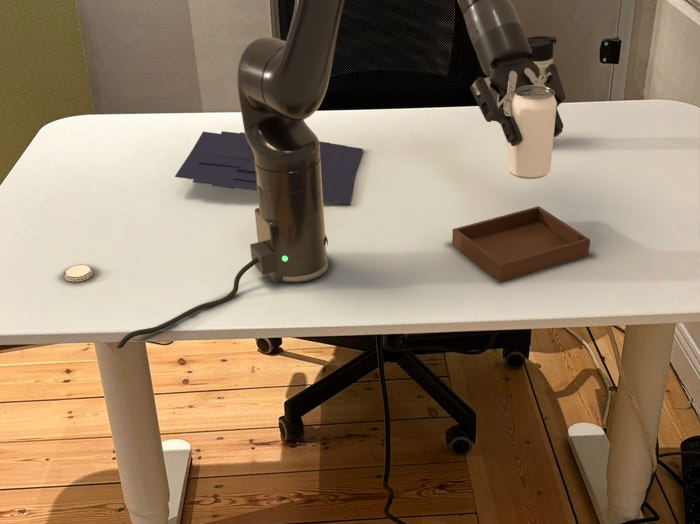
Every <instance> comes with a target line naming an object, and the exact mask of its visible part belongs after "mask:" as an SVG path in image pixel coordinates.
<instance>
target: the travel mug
mask: <svg viewBox="0 0 700 524" xmlns="http://www.w3.org/2000/svg"><path fill="white" fill-rule="evenodd" d="M526 38H527V40H528V43H529V45H530V48H531V51H532V59H533V61H534V63H535V64H536V65H537V66H538V67H547V66H549V65H550V64H551V63H553V64H554V45H556V44H557V37H556V36H548V35H538V36H536V35H535V36H530V37H526ZM538 79H539V80H540V81H541V78H540V77H539V78H538ZM543 84H544V83H543Z"/></svg>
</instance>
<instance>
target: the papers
mask: <svg viewBox="0 0 700 524" xmlns="http://www.w3.org/2000/svg"><path fill="white" fill-rule="evenodd" d="M319 145H320V159H321V175H322V191H323V202H324V201H325V202H334V203H342V204H351V200H352V199H351V197H352V192H353V186H354V185H353V184H354V178H355V177H354V176H355V173H356V170H357V167H358V165H359V162H360V160H361V156H362V153H363V151H364V148H361V147H354V146H348V145H345V144H338V143H331V142H328V141H327V142H326V141H319ZM174 178H178V179H179V178H180V179H186V180H192V183H195V184H196V183H197V184H204V185H209V186H212V187H216V188H217V187H218V188H223V189H224V188H225V189H232V190H235V189H237V190H244V191H252V192H257V185H256V175H255V166H254V157H253V152H252V149H251V147H250V146H249V144H248V142H247V139H246V136H245V132H234V131H233V132H231V131H225V130H224V131H223V130H222V131H221V132H220V133H217V132H210V131H202V133H201V134H200V135H199V137H198V139H197V140H196V143H195V144H194V146H193V148H192V149H191V151H190V153H189V154H188V156H187V157H186V158H185V160H184V161H183V163H182V165H181V166H180V167H179V169H178V170H177V172H176V173H175V175H174Z"/></svg>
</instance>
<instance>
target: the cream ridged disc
mask: <svg viewBox="0 0 700 524" xmlns="http://www.w3.org/2000/svg"><path fill="white" fill-rule="evenodd" d="M93 273H94V272H93V268H92V267H91V266H90V265H87V264H77V265H72V266H69V267H68V268H66V269H65V270H64V271H63V275H64V279H65V280H66V281H68V282H82V281H85V280H88V279H90V278H91V277H92V276H93V275H94V274H93Z"/></svg>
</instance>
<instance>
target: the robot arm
mask: <svg viewBox="0 0 700 524" xmlns="http://www.w3.org/2000/svg"><path fill="white" fill-rule="evenodd" d="M456 1H457V4H458V6H459V9H460V11H461V14H462V16H463V19H464V22H465V27H466V31H467V34H468V36H469V39H470V41H471V44H472V47H473V49H474V52H475V54H476V57H477V59H478V62H479V65H480V67H481V70H482V72H483V74H484V75H486V77H482V76H478V77H477V78H476V80H475V81H474V82H473V83H472V84H471V86H470V89H469V90H470V91H471V93H472V95H473V97H474V100H475V101H476V104H477V106H478V108H479V110H480V112H481V114H482V116H483V118H484V120H485V121H486V123H491V122H496V123H498V124H499V125H500V126H501V130H502V132H503V134H504V137H505V140H506V141H507V143H508V142H509V143H511V145H512V146H517V145H518V144H519V143H520V142H522V135H521V133H520V130H519V128H518V125H517V123H516V121H515V118H514V116H512V117H511V115H512V105H511V103H512V100H513V98H514V95H515V90H516V89H517V88H518V87H521V86H526V85H539V86H545V87H549V88H551V89H553V90H554V92H555V94H554V97H555V100H556V117H555V128H554V138H556V137H558V136H560V135H561V134H562V133H563V129H564V123H563V121H562V118H561V116H560V113H559V110H558V107H559V106H560V105H561V104H562V103H563V102H565V100H566V93H565V91H564V88H563V85H562V81H561V79H560V75H559V72H558V67H557V65H556V64H555V63H554V62H553V63H551V64H550V65H549V66H547V67H538V66H537V65H536V64H535V63H534V61H533V59H532V51H531V48H530V45H529V43H528V40H527V38H528V37H527V35H526V33H525V31H524V27H523V26H522V22H521V21H520V17H519V15H518V13H517V10H516V8H515V6H514V5H513V3H512V1H511V0H456ZM345 2H346V0H294V7H293V14H292V18H291V22H290V26H289V30H288V33H287V36H286V40H283V39H281V38H277V37H273V36H262V37H259V38H256V39H254V40H252V41H250V43H248V45H247V46H246V47H245V49H243V52H242V53H241V56H240V57H239V61H238V66H237V73H236V75H237V76H236V77H237V78H236V79H237V80H236V83H237V91H238V100H239V101H238V102H239V106H240V112H241V113H240V114H241V119H242V126H243V132H244V133H245V136H246V139H247V142H248V144H249V146H250V147H251V149H252V152H253V157H254V166H255V175H256V185H257V191H256V192H257V203H258V207H256V208H255V209H254V218H255V225H256V226H255V227H256V237H257V242H255V243H250V244H249V246H250V247H249V248H250V257H251V261H250V262H248V263H247V264H245V265H244V266H243V267H242V268H241V269H239V271H238V272H237V273H236V275H235V277H234V280H233V287H232V290H230V291H229V293H228V294H227V295H226V296H224V297H221V298H219V299H216V300H213V301H208V302H205V303H201V304H198V305H197V306H193V308H190V309H188V310H186V311H184V312H182V313H181V314H179V315H177V316H175V317H173V318H171V319H169V320H167V321H165V322H163V323H161V324H158V325H156V326H153V327H148V328H142V329H137V330H134V331H131V332H129V333H127V334H126V335H125V336H124V337H122V339H121V340H120V341H119V342H118V343H117V346H116V348H117V349H122V348H124V346H125V345H126V344H127V343H128V342H129V341H130V340H131V339H133V338H135V337H138V336H142V335H148V334H154V333H157V332H161V331H162V330H164V329H166V328H169V327H170V326H172V325H175V324H176V323H178V322H180V321H182V320H184V319H186V318H187V317H189V316H191V315H193V314H196V313H197V312H199V311H202V310H204V309H209V308H213V307H216V306H220V305H221V304H224V303H226V302H229V301H230V300H232V298H234V296H235V295H236V294H237V293H238V291H239V287H240V281H241V278H242V277H243V276H244V274H245V273H247V271H248V270H250V269H252V267H254V266H255V267H256V269H257V270H258V271H259V272H260V273H261V274H262V275H263V276H266V275H267V277H269V278H270V279H271V280H272V281H273V282H274V284H280V283H303V282H308V281H312V280H313V279H317V278H319V277H320V276H322V275H323V274H325V273H326V272H327V270H328V268H329V260H328V251H327V246H329V240H328V237H327V234H326V223H325V210H324V209H325V208H324V200H323V191H322V175H321V159H320V145H319V139H318V136H317V135H316V133H314V131H313V130H312V129H311V128H310V127H309V126H308V125H307V123H306V122H305V120H306V119H308V118H310V117H311V116H312V115H313V114H315V113H316V112H317V110H318V109H319V108H320V106H321V104H322V103H323V99H324V98H325V95H326V93H327V90H328V87H329V82H330V78H331V73H332V68H333V62H334V57H335V51H336V46H337V40H338V34H339V30H340V25H341V19H342V15H343V11H344V7H345ZM539 77H540V78H541V81H540V80H539V79H538V78H539ZM543 83H544V84H543ZM491 90H492V91H494V93H496V94H497V98H496V100H495V98H494V96H493V94H492V92H491Z"/></svg>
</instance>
